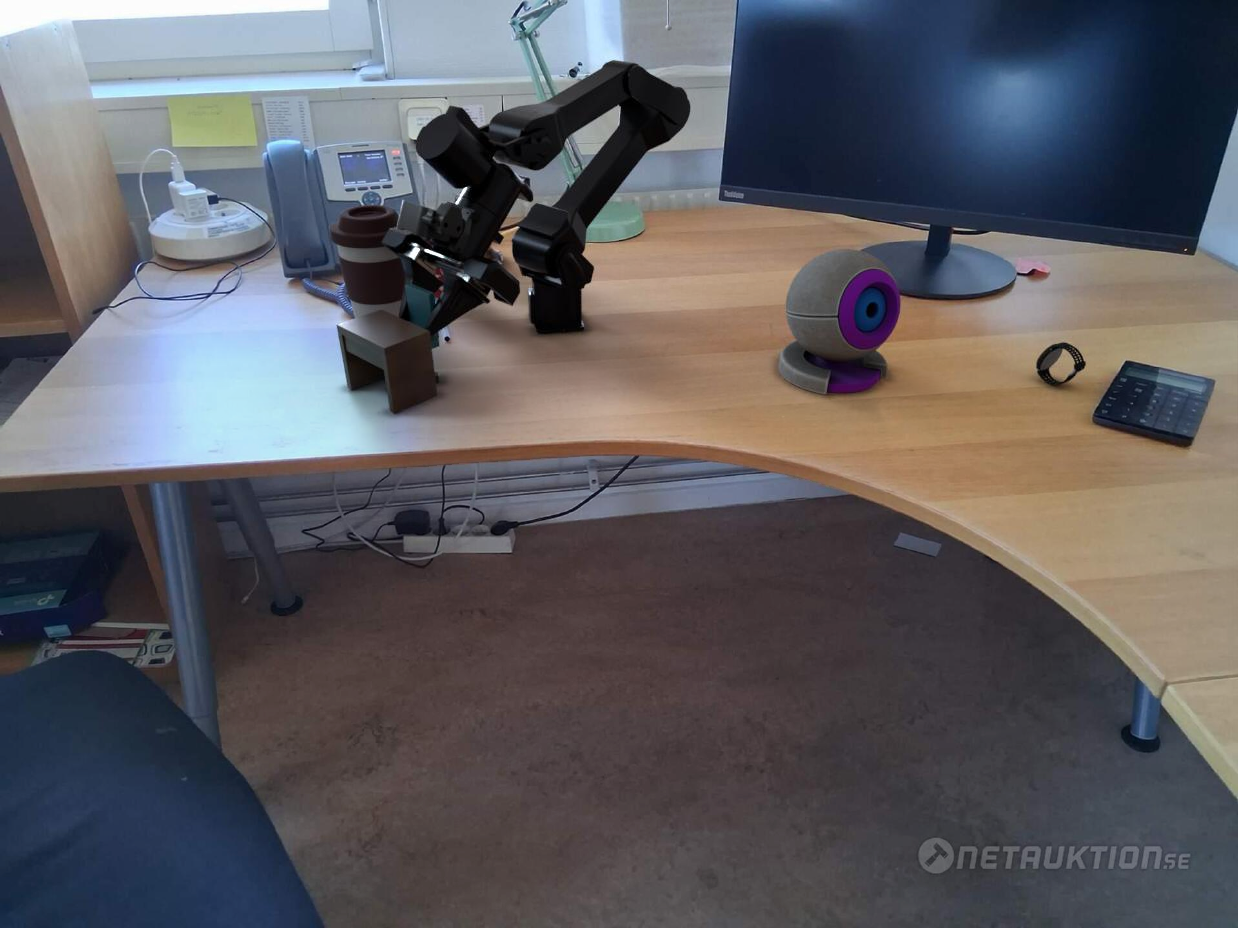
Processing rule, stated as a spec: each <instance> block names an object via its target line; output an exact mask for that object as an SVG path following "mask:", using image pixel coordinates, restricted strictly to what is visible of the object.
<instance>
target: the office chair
mask: <svg viewBox="0 0 1238 928" xmlns="http://www.w3.org/2000/svg"><path fill="white" fill-rule="evenodd" d="M405 288H406V296H407V303H408V311H409V319H410V323H412V324H415V325H417V326H419V327H421V328H425V326H426V323H427V321H428V319H429V317H430V315H431V313H432V311H433V309H434V307H435V305H436V300H435V295H434V293H433V292H430V291H428V290H425V289H423V288H421V287H418V286H416V285H413V284H411V283H410V284H407V285H405ZM430 340H431V346H432V350H434V349H436V348H439V347H440V331H439V332H437V333H436V334H434V335H433V336H431V339H430ZM434 372H435V380H436V383H439V382H440V375H439V371H434Z"/></svg>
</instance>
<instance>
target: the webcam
mask: <svg viewBox="0 0 1238 928" xmlns="http://www.w3.org/2000/svg"><path fill="white" fill-rule="evenodd" d="M901 304H902V303H901V294H900V290H899V287H898V283H897V281H896V278H895V276H894V275H893V273H892V272H891V270H890V269H889V268H888V266H887V265H886V264H885V263H883V261H881V260H880V259H879V258H877V257H876V256H874V255H872V254H871V253H869V252H865V251H861V250H859V249H853V248H839V249H835V250H829V251H826V252H824V253H821V254H819V255H817V256H816V257H814V258H812V259H810V260H809V261H808V262H807V263H805V264H804V265H803V266H802V267H801V269H799V270H798V272H797V273H796V274H795V276H794V277H793V279H792V281H791V283H790V285H789V288H788V290H787V293H786V298H785V307H784V309H785V318H786V322H787V325H788V328H789V330H790V332H791V335H792V336H793V338H794V339H795V340H794V341H792V342H790V343H788V344H787V345H786V346H784V348H783V349H782V350H781V351H780V354H779V358H778V365H777V368H778V371H779V373H780V375H781V376H782V377H783V378H784V379H785V380H786V381H787V382H788V383H791V384H793V385H794V386H797V387H798V388H801V389H804V390H807V391H809V392H813V393H816V394H821V395H827V393H828V392H829V393H839V394H841V393H842V394H843V393H844V394H845V393H857V392H861V391H865V390H868V389H871V388H872V387H874V386H875V385H876V384H878V382H879V380H880V379H884V380H885V379H887V378H888V374H889V373H888V372H889V368H888V367H889V366H888V363H887V362H888V361H887V360H886V358H885V357H884V356H883V355H882V353H880V352H878V351H877V350H878V349H879V348H880V347H881V346H882V345H883V344H884V343H885V342H886V341H887V340H888V339H889V337H890V336H891V335H892V333H893V331H894V330H895V328H896V326H897V323H898V321H899V317H900V314H901Z"/></svg>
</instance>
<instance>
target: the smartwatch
mask: <svg viewBox="0 0 1238 928" xmlns="http://www.w3.org/2000/svg"><path fill="white" fill-rule="evenodd" d="M1063 350H1065V351H1066V352H1067V353H1069V354H1070V356H1071V357H1072V359H1073V362H1074V364H1073V370H1072V371H1071V372H1070V373H1069V374H1068V376H1067V377H1066V378H1065V379H1064V380H1063V381H1059V380H1056V379H1055V378H1054V377H1053V376H1052V374H1051V372H1050V369H1051V368H1052V367H1053V366H1054V365H1055V364H1056V362H1057V361H1058V360H1059V359H1060V358H1061V355H1062V354H1063ZM1086 366H1087V361H1086V360H1084V356H1083V354H1082V352H1081V351H1080V350H1079V349H1078V348H1077V347H1076V346H1074V345H1073V344H1070V343H1068V342H1065V341H1062V342H1058V343H1053V344H1051V345H1050V346H1047V347H1046V348H1045V349H1044V350H1043V351H1042V352H1041V353H1040V355H1039V357H1037V360H1036V363H1035V368H1036V370H1037V371H1036V373H1037V375H1038V376H1039V377H1040V379H1041V380H1043V382H1044V383H1045V384H1048V385H1050V386H1052V387H1058V386H1060V385H1063V384H1066V383H1068V382H1069V381H1071V380H1073V379H1074V378H1075V377H1076V375H1077V374H1078V373H1080V372H1081V371H1083V370H1084V369H1085V367H1086Z"/></svg>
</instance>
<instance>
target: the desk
mask: <svg viewBox="0 0 1238 928" xmlns="http://www.w3.org/2000/svg"><path fill="white" fill-rule="evenodd" d="M336 330H337V335H338V342H339V347H340V352H341V353H340V354H341V358H342V359H341V360H342V364H343V369H344V374H345V381H346V385H347V386H346V387H347V389H348V390H350V391H353V390H356V389H358V388H361V387H363V386H366V385H369V384H371V383H373V382H376V381H378V380H381V379H383V378H384V381H385V387H386V393H387V400H388V401H387V402H388V406H389V412H390V413H392V414H393V415H395V414H397V413H399V412H402V411H405V410H407V409H409V408H411V407H413V406H416V405H418V404H421V403H423V402H426V401H427V400H430V399H433V398H434V397H436V396H438V390H437V389H438V388H437V382H436V380H435V372H436V371H435V364H434V357H433V356H434V355H433V349H432V346H431V340H430V339H431V337H430V331H428V330H426V329H424V328H421V327H419V326H417V325H415V324H412V323H410V322H408V321H406V320H404V319H401V318H399V317H397V316H395V315H393V314H390V313H388V312H386V311H384V310H378V311H375V312H372V313H369V314H367V315H364V316H361V317H358V318H355V317H354V318H351V319H349V320H347V321H343V322H339V323H338V324H336Z"/></svg>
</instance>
